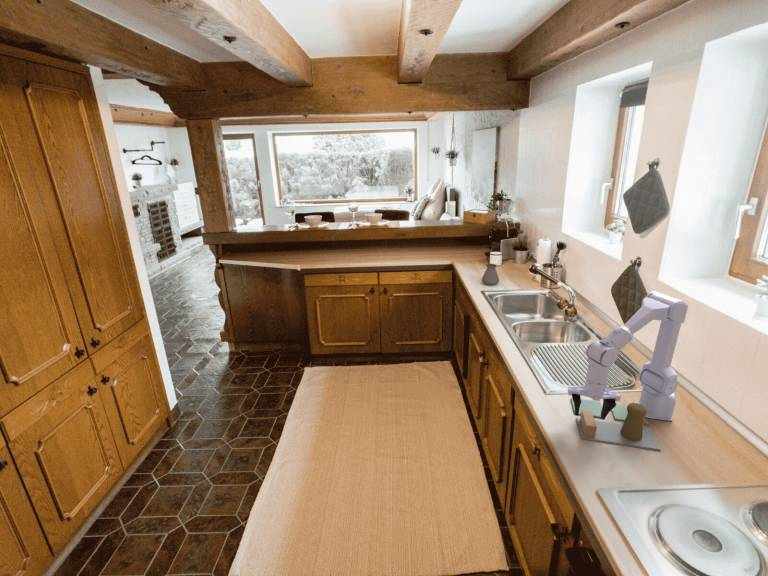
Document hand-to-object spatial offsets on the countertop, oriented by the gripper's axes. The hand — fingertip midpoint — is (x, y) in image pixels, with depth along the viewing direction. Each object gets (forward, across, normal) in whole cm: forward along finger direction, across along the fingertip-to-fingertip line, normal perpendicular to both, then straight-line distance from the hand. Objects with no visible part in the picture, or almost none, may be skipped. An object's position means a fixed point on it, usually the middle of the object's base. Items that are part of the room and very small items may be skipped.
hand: (589, 415), depth 129 cm
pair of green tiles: (+6, +9, +12) cm, 16 cm away
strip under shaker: (+6, +9, 0) cm, 10 cm away
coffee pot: (+6, -35, +144) cm, 148 cm away
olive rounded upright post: (+5, +13, 0) cm, 14 cm away
